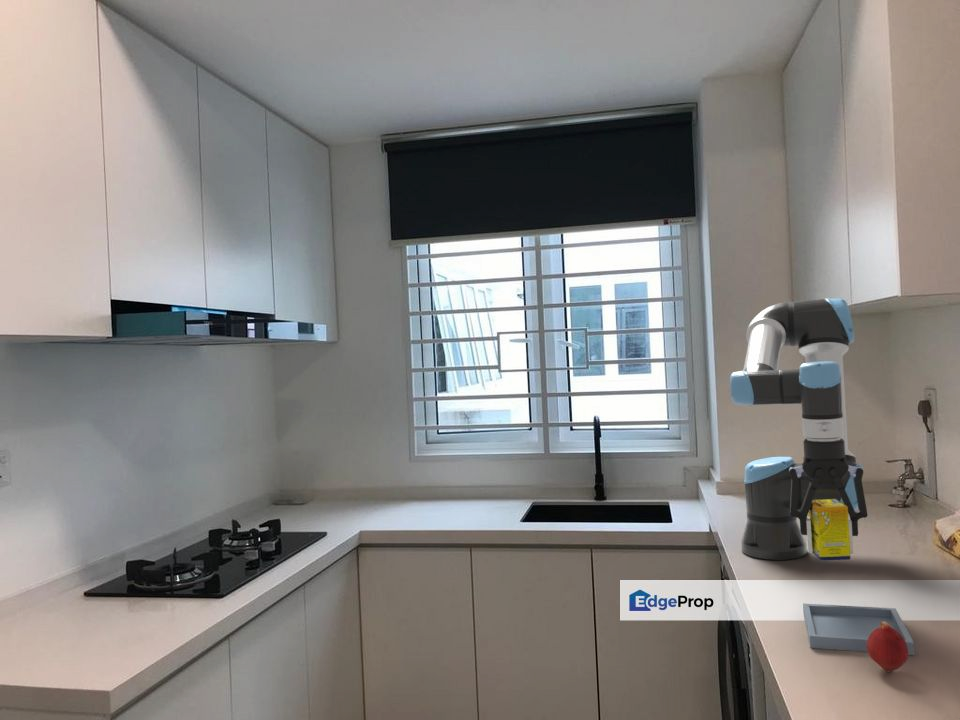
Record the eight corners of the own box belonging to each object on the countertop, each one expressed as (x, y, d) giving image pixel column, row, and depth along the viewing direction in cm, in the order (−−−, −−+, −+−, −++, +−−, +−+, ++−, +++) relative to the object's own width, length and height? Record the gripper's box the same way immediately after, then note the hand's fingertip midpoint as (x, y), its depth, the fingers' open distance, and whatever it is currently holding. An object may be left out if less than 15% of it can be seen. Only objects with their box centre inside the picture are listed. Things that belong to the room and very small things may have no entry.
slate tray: (803, 614, 143) (802, 603, 143) (896, 619, 138) (895, 608, 138) (810, 647, 128) (809, 635, 128) (914, 655, 123) (914, 642, 123)
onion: (895, 662, 121) (893, 613, 121) (917, 677, 115) (914, 627, 115) (861, 664, 121) (858, 616, 121) (881, 680, 115) (878, 630, 115)
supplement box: (809, 552, 152) (806, 499, 152) (839, 550, 152) (837, 498, 151) (819, 561, 146) (816, 506, 146) (851, 560, 146) (848, 505, 145)
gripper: (771, 442, 148) (778, 555, 149) (881, 440, 141) (888, 558, 142) (770, 436, 155) (776, 544, 156) (875, 434, 148) (881, 546, 149)
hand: (829, 550), depth 149 cm, fingers closed on supplement box, 7 cm apart
